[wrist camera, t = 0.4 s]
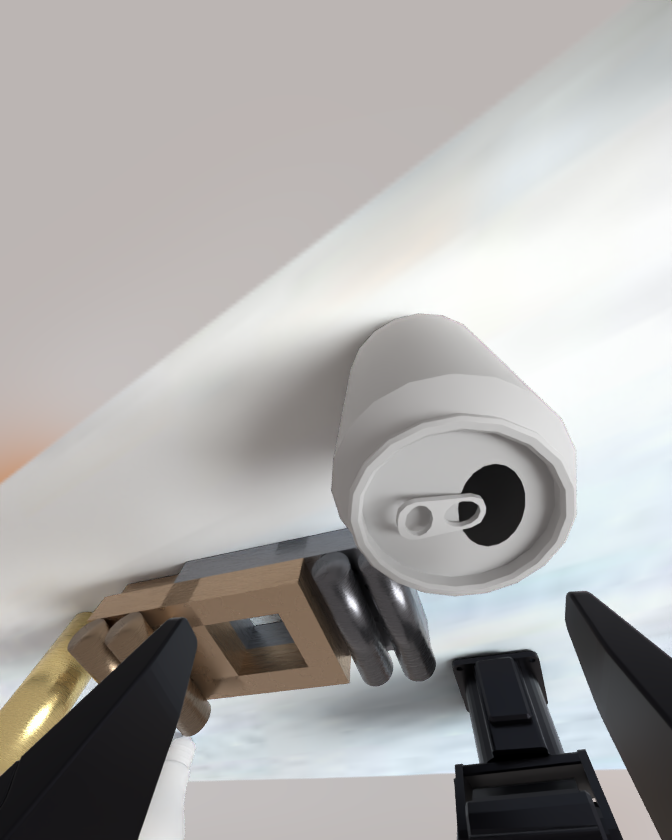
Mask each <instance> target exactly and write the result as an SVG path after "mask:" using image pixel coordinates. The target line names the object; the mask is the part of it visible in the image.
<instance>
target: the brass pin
mask: <svg viewBox="0 0 672 840" xmlns="http://www.w3.org/2000/svg"><path fill="white" fill-rule="evenodd" d="M92 614H93V613H91V612H83V613H79V614H78V615H76V616H75V617H74V619H73V620H72V621H71V622H70V624H69V625H68V626H67V627H66V629H65V630H64V631H63V632H62V634H61V635H60V636H59V637H58V639H57V640H56V641H55V642H54V644H53V645H52V646H51V648H50V649H49V650H48V651H47V653H46V654H45V655H44V656H43V658H42V659H41V660H40V661H39V663H38V664H37V665H36V666H35V668H34V669H33V670H32V671H31V673H30V674H29V675H28V676H27V678H26V679H25V680H24V681H23V683H22V684H21V685H20V686H19V688H18V689H17V690H16V692H15V693H14V694H13V695H12V697H11V698H10V699H9V700H8V702H7V703H6V704H5V705H4V707H3V708H2V709H1V710H0V776H1V775H2V774H3V773H4V772H5V771H6V770H7V769H8V768H9V767H11V766H12V765H13V764H14V763H15V762H16V761H18V760H20V758H21V756H22V755H23V754H25V753H26V752H27V751H28V750H29V749H30V748H31V747H32V746H33V745H34V744H35V743H36V742H37V741H38V740H39V739H41V738H42V737H43V736H44V735H45V734H46V733H47V732H48V731H49V730H50V729H51V728H52V727H53V726H54V725H55V724H57V723H58V722H59V721H60V720H61V719H62V718H63V717H64V716H65V715H66V714H67V713H68V712H69V711H70V710H71V708H72V707H73V705H74V704H75V702H76V701H77V699H78V697H79V696H80V694H81V693H82V691H83V690H84V688H85V687H86V685H87V684H88V682H89V680H90V679H91V675H90V674H89V673H88V672H87V671H86V670H85V669H84V668H83V667H82V666H81V665H80V663H79V662H78V661H77V660H76V659H75V658H74V657H73V656H72V655H71V654H70V653H69V652H68V650H67V647H68V644H69V642H70V640H71V639H72V637H73V636H74V635H75V634H76V633H77V632H78V631H79V630H80V629H81V628H82V627H83V626H85V625H86V624H88V622H87V620H88V619H89V617H90V616H91V615H92Z"/></svg>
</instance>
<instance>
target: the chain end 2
mask: <svg viewBox="0 0 672 840" xmlns="http://www.w3.org/2000/svg"><path fill="white" fill-rule="evenodd" d="M300 558H304V560H305V563H306V565H307V567H308V569H309V571H310V573H311V575H312V577H313V579H314V581H315V583H316V585H317V587H318V589H319V591H320V593H321V595H322V597H323V599H324V601H325V603H326V605H327V607H328V609H329V612H330V614H331V616H332V618H333V620H334V622H335V624H336V626H337V628H338V630H339V632H340V634H341V636H342V638H343V640H344V642H345V644H346V646H347V648H348V650H349V652H350V654H351V656H352V658H353V660H354V662H355V664H356V666H357V669H358V671H359V673H360V675H361V677H362V679H363V680H364V682H365V683H367V684H368V685H370V686H380V685H382V684H384V683H386V682H387V681H388V680H389V678H390V677H391V675H392V672H393V662H392V660H391V657H390V655H389V653H388V651H389V650H394V651H395V654H396V656H397V658H398V661H399V663H400V665H401V668H402V670H403V672H404V674H405V675H406V676H407V677H408V678H409V679H411V680H413V681H424V680H426V679H428V678H429V677H430V676H431V675H432V674H433V672H434V670H435V667H436V661H435V657H434V654H433V652H432V649H431V646H430V638H429V630H428V623H427V618H426V616H425V613H424V610H423V607H422V604H421V601H420V599H419V596H418V593H417V590H416V589H413V588H410V587H407V586H405V585H402V584H399V583H396V582H394V581H393V580H391V579H390V578H389V577H387V576H386V575H384V574H383V573H381V572H380V571H379V570H377V569H376V568H374V567H373V566H372V565H371V564H370V563H369V561H368V560H367V559H366V558H365V556H364V555H363V554H362V552H361V551H360V550H359V548H358V547H357V546H356V545H355V542H354V539H353V535H352V533H351V532H350V531H349V529H348V528H347V529H342V530H337V531H332V532H328V533H323V534H318V535H313V536H308V537H304V538H299V539H294V540H289V541H284V542H280V543H275V544H270V545H265V546H261V547H256V548H251V549H246V550H241V551H237V552H232V553H227V554H222V555H218V556H213V557H208V558H203V559H198V560H194V561H189V562H186V563H185V565H184V566H183V568H182V570H181V571H180V573H179V575H178V576H177V578H176V580H175V582H174V583H178V582H183V581H188V580H193V579H199V578H204V577H209V576H214V575H219V574H224V573H229V572H234V571H239V570H244V569H249V568H255V567H260V566H265V565H270V564H275V563H280V562H285V561H290V560H295V559H300ZM229 623H230V624H231V626H232V627H233V629H234V630H235V632H236V634H237V635H238V637H239V638H240V640H241V641H242V643H243V644H244V646H245V648H246V649H254V648H261V647H268V646H275V645H282V644H288V643H295V642H294V640H293V639H292V637H291V635H290V633H289V632H288V630H287V628H286V626H285V624H284V623H283V622H276V623H270V624H264V625H258V626H254V625H253V623H252V622H251V620H250V618H247V619H241V620H235V621H229Z"/></svg>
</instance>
